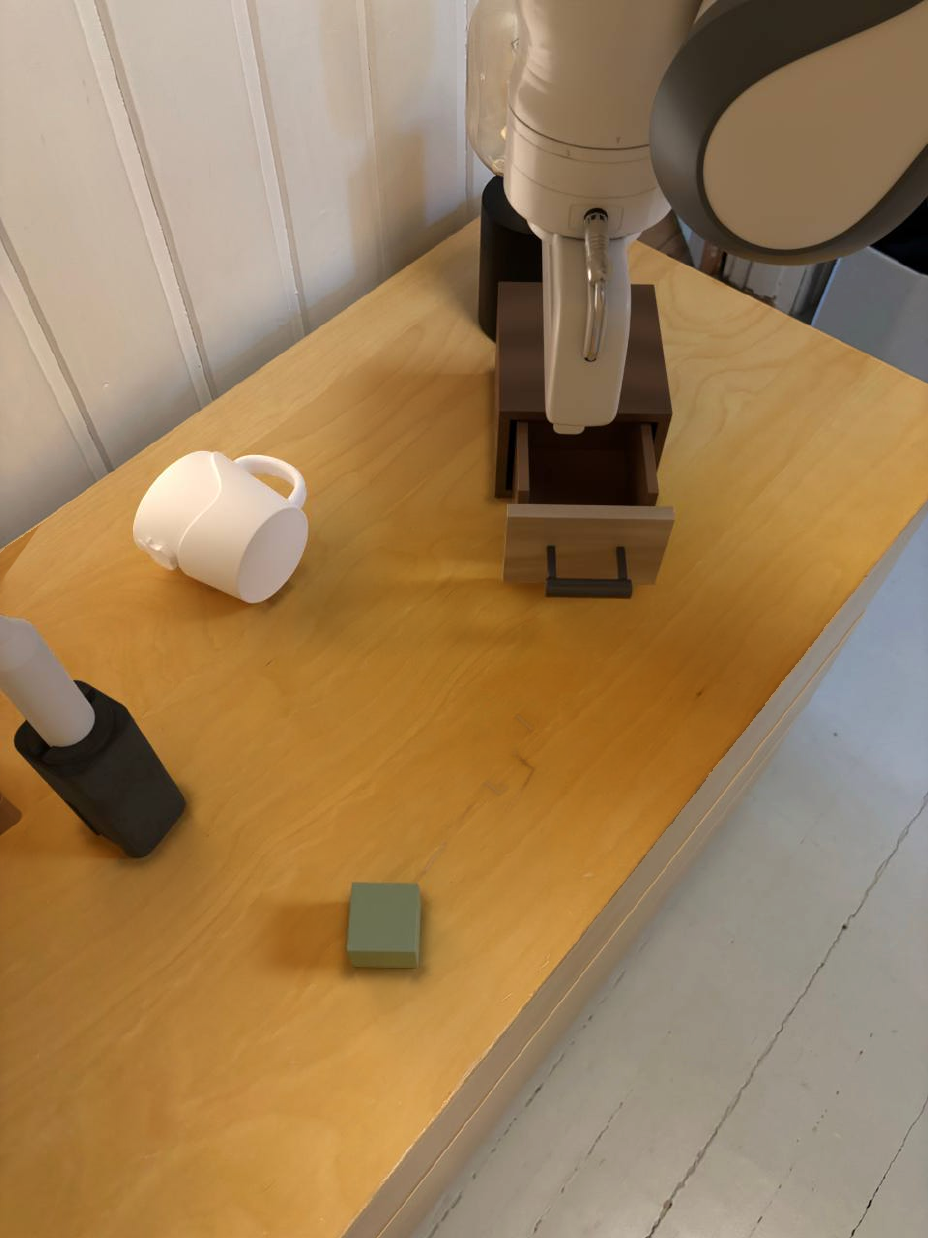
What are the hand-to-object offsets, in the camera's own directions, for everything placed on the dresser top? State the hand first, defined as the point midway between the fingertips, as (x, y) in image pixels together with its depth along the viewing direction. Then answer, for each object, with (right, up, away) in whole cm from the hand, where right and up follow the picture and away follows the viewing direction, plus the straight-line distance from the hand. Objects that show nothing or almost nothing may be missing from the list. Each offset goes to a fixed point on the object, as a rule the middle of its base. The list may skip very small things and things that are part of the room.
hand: (565, 370), depth 58 cm
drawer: (+3, -9, +16) cm, 18 cm away
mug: (-23, -10, +16) cm, 30 cm away
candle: (-28, -28, +4) cm, 40 cm away
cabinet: (+3, +1, +23) cm, 23 cm away
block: (-11, -35, 0) cm, 37 cm away
